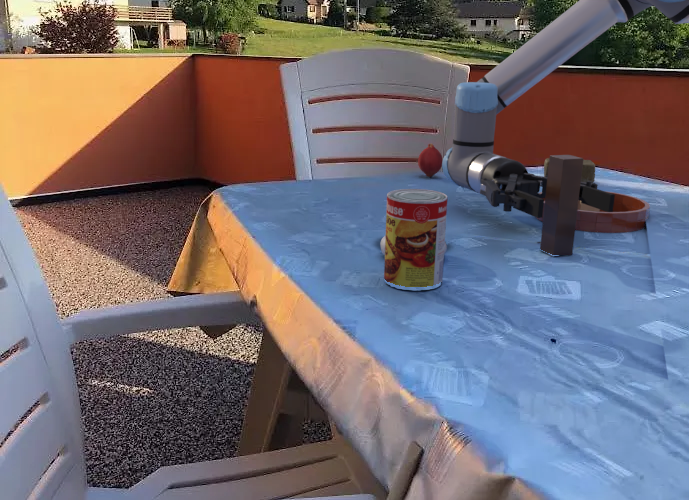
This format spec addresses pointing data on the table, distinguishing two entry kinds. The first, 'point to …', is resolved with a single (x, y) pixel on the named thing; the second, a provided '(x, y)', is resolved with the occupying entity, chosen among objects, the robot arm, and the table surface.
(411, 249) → the canned food
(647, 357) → the table surface
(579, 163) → the stick
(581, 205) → the block
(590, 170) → the stone block
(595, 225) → the bowl
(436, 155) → the onion
